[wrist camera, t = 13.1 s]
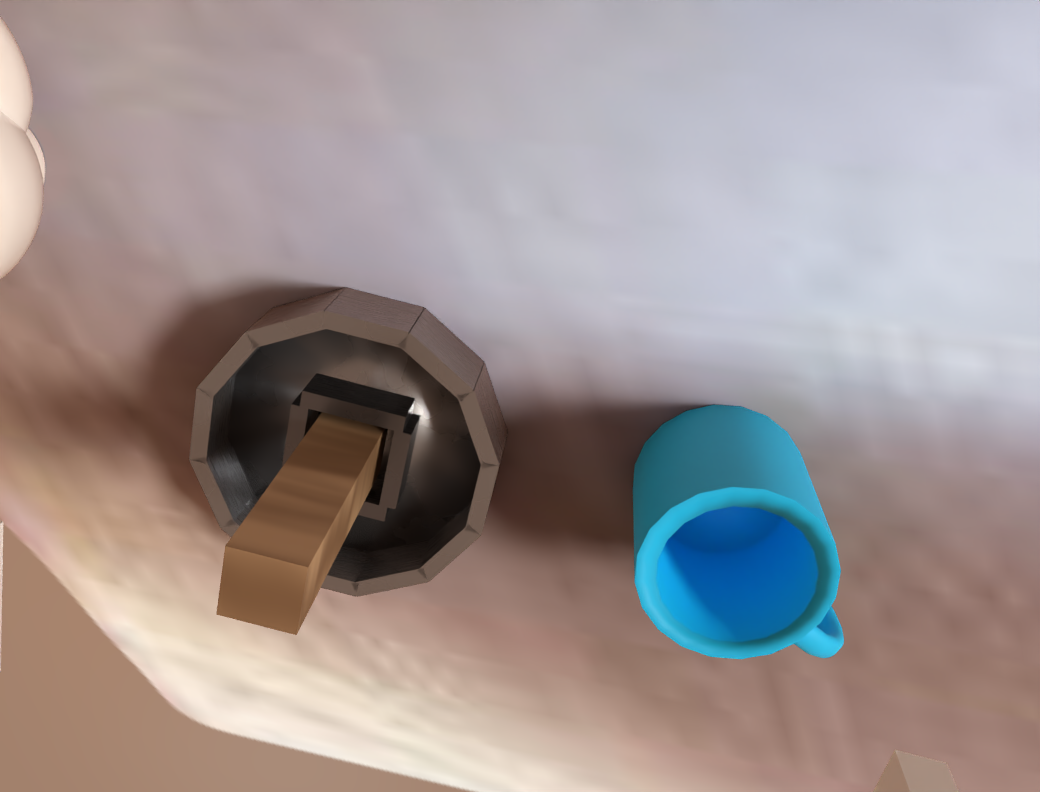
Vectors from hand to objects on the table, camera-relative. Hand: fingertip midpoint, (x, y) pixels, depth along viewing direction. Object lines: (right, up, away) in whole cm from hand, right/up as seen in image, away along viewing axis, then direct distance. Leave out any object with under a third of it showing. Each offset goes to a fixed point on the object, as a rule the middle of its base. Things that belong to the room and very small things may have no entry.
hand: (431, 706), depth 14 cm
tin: (-7, +3, +33) cm, 34 cm away
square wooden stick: (-7, +3, +32) cm, 33 cm away
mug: (+12, -1, +33) cm, 35 cm away
